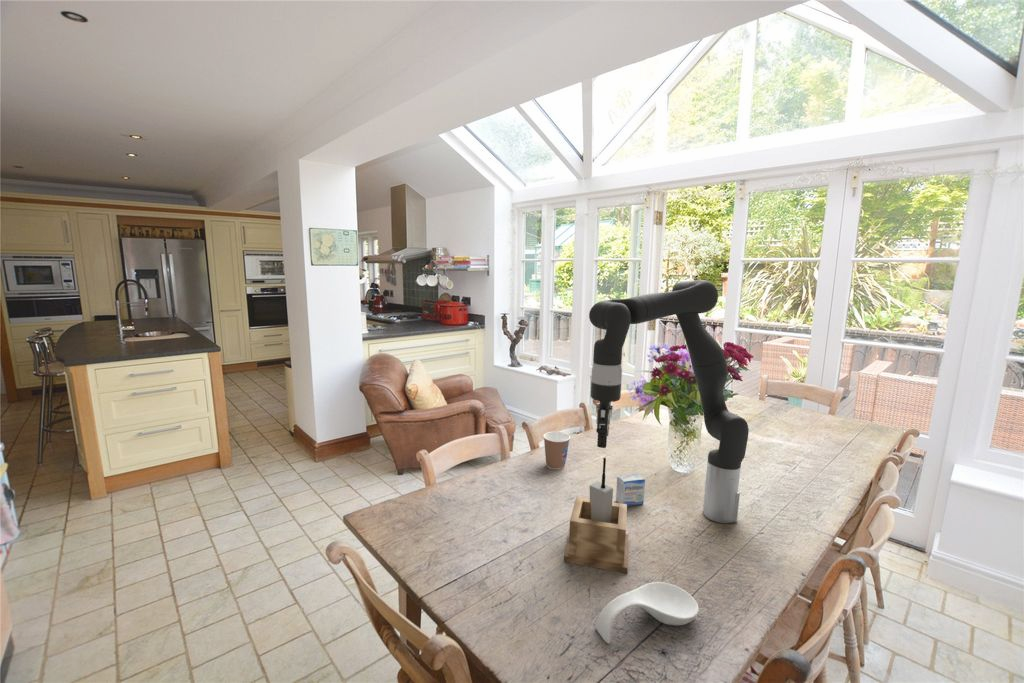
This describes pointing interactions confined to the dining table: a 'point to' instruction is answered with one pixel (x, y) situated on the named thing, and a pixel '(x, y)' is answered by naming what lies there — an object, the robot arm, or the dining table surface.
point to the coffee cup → (556, 449)
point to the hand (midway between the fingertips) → (602, 441)
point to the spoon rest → (650, 606)
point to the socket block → (598, 538)
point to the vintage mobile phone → (601, 499)
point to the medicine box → (630, 490)
